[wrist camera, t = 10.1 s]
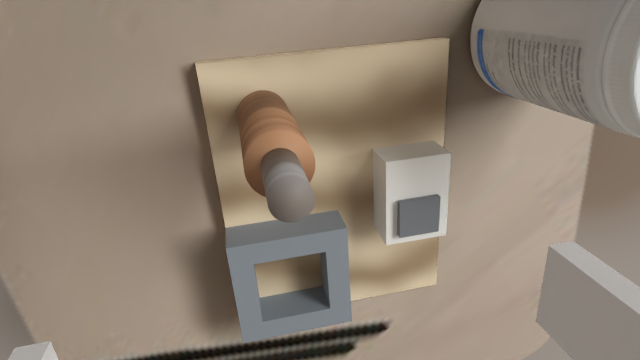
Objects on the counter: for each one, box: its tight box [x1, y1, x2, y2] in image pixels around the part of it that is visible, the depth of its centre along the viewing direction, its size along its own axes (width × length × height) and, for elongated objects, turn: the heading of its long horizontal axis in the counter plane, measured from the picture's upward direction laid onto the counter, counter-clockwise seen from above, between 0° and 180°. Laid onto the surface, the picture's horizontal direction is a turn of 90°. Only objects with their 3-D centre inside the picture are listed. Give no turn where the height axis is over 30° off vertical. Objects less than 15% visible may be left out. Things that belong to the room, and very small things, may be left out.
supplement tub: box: [471, 0, 640, 138], centre depth 26 cm, size 10×10×15 cm
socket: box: [225, 210, 352, 343], centre depth 35 cm, size 9×9×3 cm
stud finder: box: [373, 140, 451, 245], centre depth 33 cm, size 7×5×4 cm
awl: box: [238, 90, 315, 223], centre depth 24 cm, size 4×4×14 cm
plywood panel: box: [195, 37, 450, 301], centre depth 35 cm, size 22×18×1 cm
